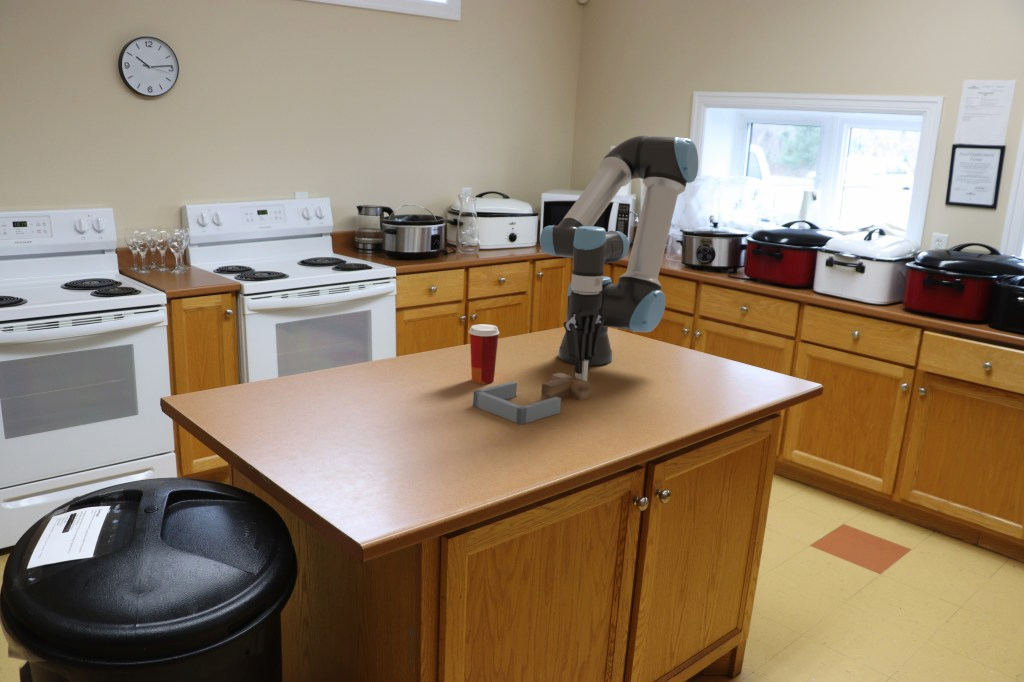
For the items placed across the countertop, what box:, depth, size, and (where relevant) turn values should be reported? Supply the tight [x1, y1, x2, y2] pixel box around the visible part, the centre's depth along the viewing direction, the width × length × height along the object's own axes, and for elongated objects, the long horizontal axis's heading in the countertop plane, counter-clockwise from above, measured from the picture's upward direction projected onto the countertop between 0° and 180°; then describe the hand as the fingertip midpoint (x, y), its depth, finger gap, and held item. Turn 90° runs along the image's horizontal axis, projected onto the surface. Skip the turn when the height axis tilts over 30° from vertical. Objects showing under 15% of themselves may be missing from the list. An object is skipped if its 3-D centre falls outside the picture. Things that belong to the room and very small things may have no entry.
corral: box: [472, 381, 562, 425], centre depth 194 cm, size 16×12×4 cm
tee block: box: [540, 372, 591, 401], centre depth 204 cm, size 10×10×4 cm
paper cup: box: [467, 323, 500, 385], centre depth 213 cm, size 8×8×14 cm
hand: (580, 384), depth 209 cm, fingers closed
